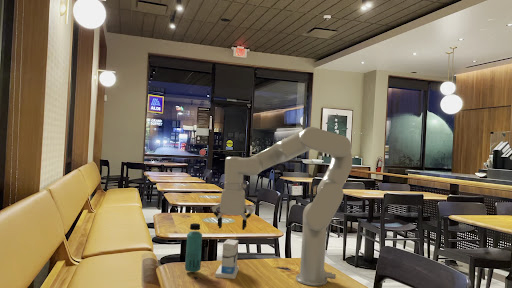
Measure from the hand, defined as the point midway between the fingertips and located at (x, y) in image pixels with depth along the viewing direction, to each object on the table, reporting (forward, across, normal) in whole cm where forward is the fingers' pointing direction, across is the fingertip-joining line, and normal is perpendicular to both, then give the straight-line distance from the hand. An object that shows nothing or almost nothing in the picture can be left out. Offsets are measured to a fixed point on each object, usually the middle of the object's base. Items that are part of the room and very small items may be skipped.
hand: (231, 228), depth 161 cm
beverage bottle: (+19, +15, +2) cm, 24 cm away
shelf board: (+19, +1, -1) cm, 19 cm away
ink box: (+17, 0, 0) cm, 17 cm away
